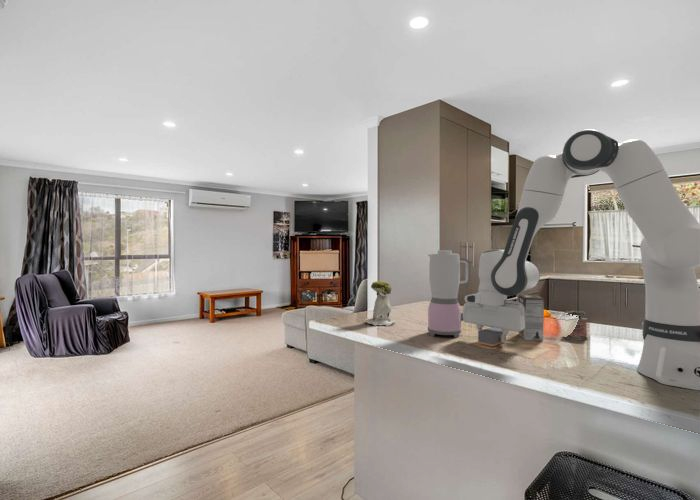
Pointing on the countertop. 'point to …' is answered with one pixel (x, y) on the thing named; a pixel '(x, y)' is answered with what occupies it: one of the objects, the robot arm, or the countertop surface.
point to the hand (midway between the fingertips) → (492, 340)
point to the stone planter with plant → (381, 304)
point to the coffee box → (532, 317)
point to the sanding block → (489, 336)
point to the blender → (445, 293)
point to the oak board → (514, 348)
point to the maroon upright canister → (578, 327)
